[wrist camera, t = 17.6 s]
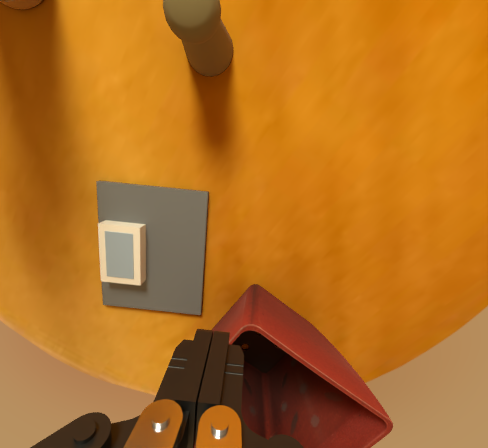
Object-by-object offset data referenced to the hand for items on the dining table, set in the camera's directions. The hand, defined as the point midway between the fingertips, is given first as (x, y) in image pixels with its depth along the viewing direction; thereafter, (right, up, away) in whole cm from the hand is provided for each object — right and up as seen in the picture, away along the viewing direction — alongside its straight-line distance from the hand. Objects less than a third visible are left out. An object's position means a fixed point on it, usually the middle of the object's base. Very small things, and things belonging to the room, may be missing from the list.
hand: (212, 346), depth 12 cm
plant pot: (+4, -12, +31) cm, 34 cm away
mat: (-13, +2, +28) cm, 31 cm away
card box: (-14, +1, +26) cm, 30 cm away
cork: (-3, +28, +21) cm, 35 cm away
